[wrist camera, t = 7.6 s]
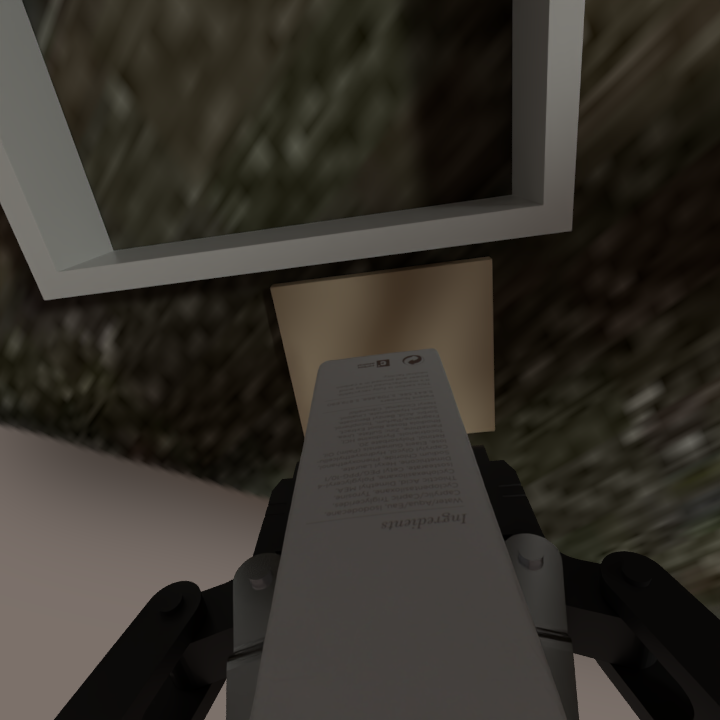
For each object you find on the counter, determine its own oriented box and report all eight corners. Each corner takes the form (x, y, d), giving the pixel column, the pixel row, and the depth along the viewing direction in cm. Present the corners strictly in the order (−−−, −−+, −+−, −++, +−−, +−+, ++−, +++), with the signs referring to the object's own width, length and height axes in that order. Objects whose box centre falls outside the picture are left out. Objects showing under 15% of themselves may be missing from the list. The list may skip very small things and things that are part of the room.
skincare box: (314, 359, 16) (168, 858, 5) (444, 341, 15) (625, 847, 4) (345, 495, 18) (298, 1027, 7) (457, 484, 18) (590, 1031, 7)
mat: (488, 256, 20) (492, 259, 20) (492, 424, 24) (494, 430, 23) (272, 284, 21) (270, 287, 21) (308, 441, 25) (306, 448, 24)
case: (547, -314, 13) (612, -489, 10) (535, 215, 19) (571, 230, 16) (-69, -166, 15) (-212, -266, 11) (101, 274, 21) (44, 300, 18)
